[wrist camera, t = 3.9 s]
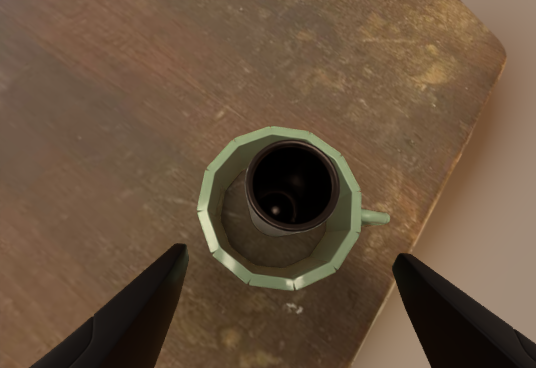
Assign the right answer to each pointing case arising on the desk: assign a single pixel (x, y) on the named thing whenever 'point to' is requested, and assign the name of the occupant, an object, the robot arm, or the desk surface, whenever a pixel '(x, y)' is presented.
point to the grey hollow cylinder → (291, 188)
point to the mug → (337, 225)
